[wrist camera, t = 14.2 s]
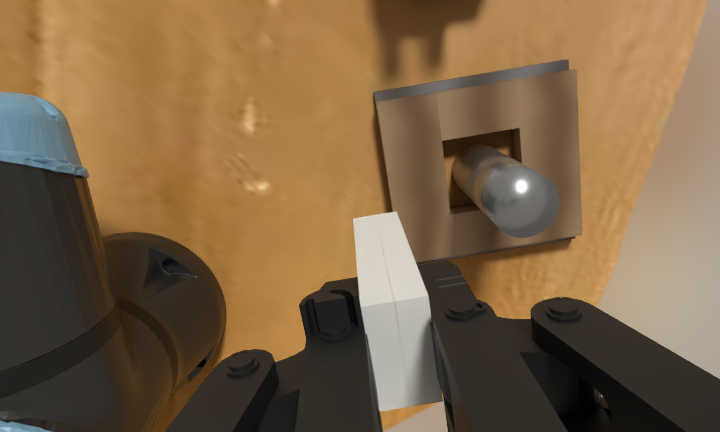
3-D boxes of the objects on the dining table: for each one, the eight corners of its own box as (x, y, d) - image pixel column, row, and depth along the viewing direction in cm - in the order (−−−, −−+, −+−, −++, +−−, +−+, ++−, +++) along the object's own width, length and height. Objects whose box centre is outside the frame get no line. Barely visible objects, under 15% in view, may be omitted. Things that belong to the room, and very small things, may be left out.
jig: (399, 264, 46) (402, 273, 44) (373, 92, 41) (375, 93, 40) (572, 236, 46) (582, 243, 44) (565, 59, 41) (576, 59, 39)
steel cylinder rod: (454, 197, 44) (494, 242, 33) (449, 148, 43) (488, 178, 32) (503, 188, 44) (560, 232, 33) (500, 139, 43) (557, 166, 32)
